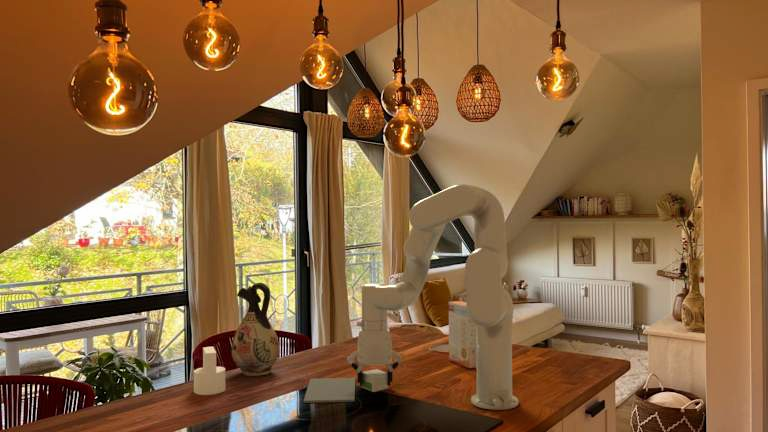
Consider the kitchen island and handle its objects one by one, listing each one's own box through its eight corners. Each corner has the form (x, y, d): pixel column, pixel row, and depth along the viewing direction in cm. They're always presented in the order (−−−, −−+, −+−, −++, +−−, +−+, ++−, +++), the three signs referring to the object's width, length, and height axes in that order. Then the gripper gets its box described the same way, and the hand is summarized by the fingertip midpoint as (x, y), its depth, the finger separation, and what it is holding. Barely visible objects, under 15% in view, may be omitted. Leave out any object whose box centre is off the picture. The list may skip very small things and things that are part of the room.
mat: (354, 401, 162) (354, 399, 162) (303, 402, 161) (303, 400, 161) (355, 379, 184) (355, 377, 184) (310, 380, 183) (310, 378, 183)
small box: (361, 388, 174) (361, 371, 174) (377, 384, 178) (377, 368, 178) (372, 392, 170) (372, 375, 170) (388, 389, 173) (388, 372, 173)
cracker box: (484, 367, 197) (483, 305, 197) (468, 369, 194) (467, 306, 195) (463, 358, 210) (462, 300, 210) (448, 360, 207) (447, 301, 208)
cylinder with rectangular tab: (192, 388, 176) (192, 348, 176) (223, 384, 180) (223, 345, 180) (195, 396, 168) (194, 354, 168) (227, 392, 171) (226, 351, 171)
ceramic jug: (221, 376, 189) (220, 283, 189) (253, 365, 203) (252, 278, 203) (262, 382, 181) (261, 285, 181) (292, 370, 195) (292, 280, 195)
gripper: (344, 328, 170) (345, 389, 170) (404, 327, 170) (405, 387, 170) (345, 323, 177) (345, 381, 177) (402, 322, 178) (403, 380, 178)
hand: (375, 384), depth 174 cm, fingers closed on small box, 7 cm apart
